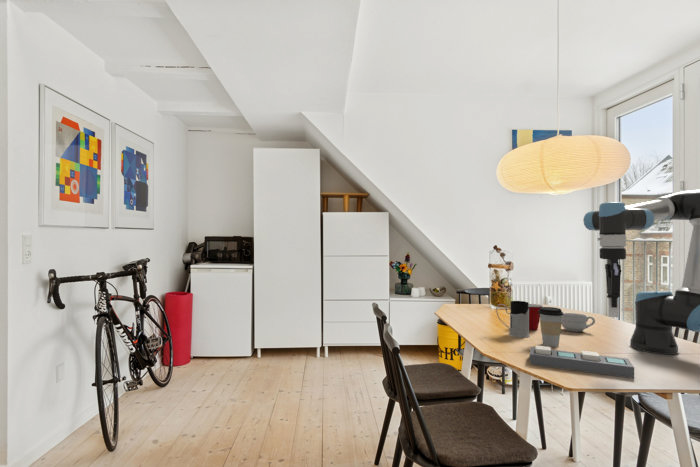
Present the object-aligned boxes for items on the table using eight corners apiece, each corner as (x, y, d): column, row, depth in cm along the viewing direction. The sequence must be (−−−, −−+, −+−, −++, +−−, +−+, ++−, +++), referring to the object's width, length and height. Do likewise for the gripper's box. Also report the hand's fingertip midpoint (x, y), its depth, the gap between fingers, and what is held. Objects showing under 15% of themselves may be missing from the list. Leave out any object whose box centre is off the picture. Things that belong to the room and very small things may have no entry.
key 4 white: (550, 353, 141) (550, 347, 141) (550, 357, 137) (550, 350, 137) (535, 351, 143) (535, 345, 143) (535, 355, 139) (535, 348, 139)
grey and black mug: (531, 338, 172) (531, 304, 172) (497, 336, 176) (497, 302, 176) (528, 333, 181) (528, 301, 181) (495, 331, 184) (495, 299, 185)
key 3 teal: (573, 360, 138) (573, 353, 138) (574, 364, 133) (574, 357, 133) (558, 358, 140) (558, 352, 140) (558, 362, 135) (558, 355, 136)
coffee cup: (566, 349, 156) (566, 311, 156) (541, 347, 158) (541, 310, 158) (559, 342, 166) (559, 307, 166) (535, 341, 167) (535, 306, 168)
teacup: (557, 330, 187) (557, 313, 188) (565, 327, 195) (565, 310, 195) (590, 336, 178) (590, 318, 178) (597, 332, 185) (597, 315, 185)
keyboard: (628, 368, 133) (628, 358, 133) (634, 378, 124) (634, 367, 124) (530, 356, 146) (530, 347, 146) (529, 364, 137) (529, 354, 137)
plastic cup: (534, 326, 197) (534, 302, 197) (548, 331, 186) (548, 305, 186) (514, 326, 195) (514, 302, 195) (526, 331, 184) (527, 306, 185)
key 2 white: (597, 359, 135) (597, 352, 135) (599, 363, 130) (599, 356, 130) (581, 357, 137) (581, 350, 137) (582, 361, 132) (582, 354, 132)
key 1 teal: (623, 366, 131) (623, 359, 131) (625, 371, 127) (625, 363, 127) (606, 364, 133) (606, 357, 134) (608, 369, 129) (608, 361, 129)
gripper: (596, 246, 142) (597, 312, 142) (602, 248, 130) (604, 319, 130) (621, 246, 139) (622, 313, 139) (630, 248, 127) (631, 321, 127)
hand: (613, 316), depth 134 cm, fingers closed
